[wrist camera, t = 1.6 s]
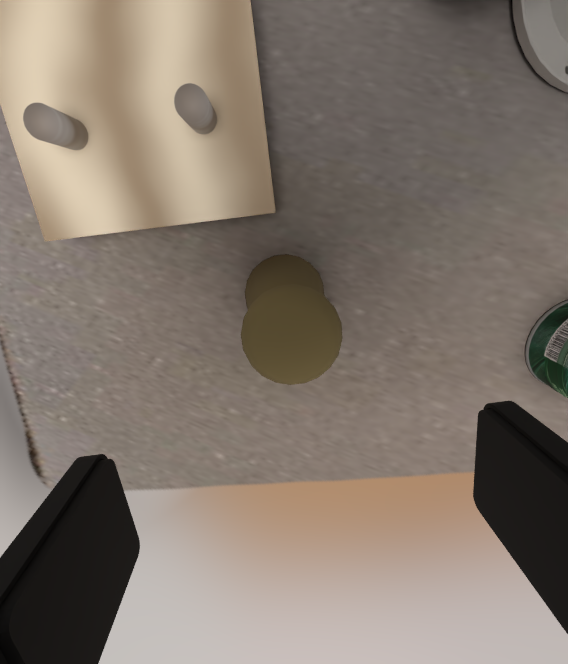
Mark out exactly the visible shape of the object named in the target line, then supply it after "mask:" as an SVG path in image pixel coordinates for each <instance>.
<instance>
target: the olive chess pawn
mask: <svg viewBox="0 0 568 664" xmlns="http://www.w3.org/2000/svg"><path fill="white" fill-rule="evenodd" d="M245 297H246V304H247V308H248V311H247V313H246V315H245V316H244V320H243V325H242V331H241V339H242V345H243V350H244V352H245V354H246V356H247V358H248V360H249V362H250V363H251V365H252V367H253V368H255V369H256V370H257V371H258V372H259V373H260V374H261V375H262V376H264V377H266V378H268V379H270V380H272V381H274V382H276V383H282V384H288V385H293V384H301V383H306V382H308V381H311V380H313V379H316V378H318V377H319V376H321V375H322V374H323V373H324V372H325V371H327V370H328V369H329V368H330V367H331V365H332V364H333V362H334V361H335V359H336V358H337V356H338V354H339V350H340V346H341V342H342V326H341V321H340V319H339V316H338V314H337V312H336V309H335V308H334V306H333V305H332V304H331V303H330V302H329V301H328V300H327V299H326V297H325V296H324V288H323V282H322V280H321V278H320V275H319V273H318V272H317V270H316V269H315V268H314V267H313V266H312V265H311V264H310V263H309V262H307V261H305V260H304V259H302V258H300V257H297V256H292V255H287V254H285V255H277V256H272V257H270V258H268V259H266V260H264V261H262V262H261V263H260V264H259V265H258V266H257V267H256V268H254V269H253V271H252V273H251V274H250V276H249V278H248V280H247V284H246V289H245Z"/></svg>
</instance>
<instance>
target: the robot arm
mask: <svg viewBox="0 0 568 664" xmlns="http://www.w3.org/2000/svg"><path fill="white" fill-rule="evenodd" d="M512 2H513V19H514V23H515V28H516V33H517V37H518V40H519V43H520V45H521V47H522V50H523V52H524V54H525V57H526V58H527V60H528V61H529V63H530V64H531V65H532V67H533V68H534V70H535V71H536V73H538V74H539V75H540V76H541V77H542V78H543V79H544V80H546V81H547V82H548V83H549V84H550V85H552V86H554V87H556V88H558V89H560V90H562V91H564V92H568V0H512ZM473 492H474V493H473V497H474V501H475V504H476V506H477V508H478V510H479V511H480V513H481V514H482V516H483V517H484V519H485V520H486V521H487V523H488V524H489V526H490V527H491V528H492V530H493V531H494V532H495V534H496V535H497V537H498V538H499V539H500V541H501V542H502V543H503V545H504V546H505V548H506V549H507V550H508V552H509V553H510V555H511V556H512V558H513V559H514V560H515V561H516V563H517V564H518V566H519V567H520V569H521V570H522V571H523V573H524V574H525V575H526V577H527V578H528V580H529V581H530V582H531V584H532V585H533V587H534V588H535V589H536V591H537V592H538V593H539V595H540V596H541V598H542V599H543V600H544V602H545V603H546V605H547V606H548V607H549V609H550V610H551V612H552V613H553V614H554V616H555V617H556V618H557V620H558V621H559V623H560V624H561V626H562V627H563V628H564V630H565V631H566V633H567V634H568V443H567V442H566V441H565V440H564V439H562V438H561V437H560V436H558V435H557V434H556V433H554V432H553V431H552V430H550V429H549V428H548V427H546V426H545V425H544V424H542V423H541V422H540V421H538V420H537V419H536V418H534V417H533V416H532V415H530V414H529V413H528V412H526V411H525V410H524V409H523V408H521V407H520V406H519V405H517V404H516V403H514V402H512V401H503V402H496V403H488V404H486V405H485V407H484V410H481V411H480V412H479V413H478V424H477V441H476V457H475V474H474V491H473ZM139 549H140V543H139V537H138V535H137V531H136V528H135V525H134V522H133V518H132V516H131V512H130V509H129V506H128V503H127V500H126V497H125V494H124V490H123V487H122V484H121V481H120V478H119V475H118V472H117V469H116V466H115V463H114V461H113V460H112V459H108V458H107V457H106V456H105V455H103V454H99V455H91V456H84V457H79V458H77V459H76V460H75V461H74V463H73V464H72V465H71V467H70V468H69V469H68V470H67V472H66V473H65V474H64V476H63V477H62V478H61V480H60V481H59V482H58V483H57V485H56V486H55V487H54V489H53V490H52V491H51V493H50V494H49V495H48V496H47V498H46V499H45V501H44V502H43V503H42V504H41V506H40V507H39V508H38V510H37V511H36V512H35V513H34V515H33V516H32V517H31V519H30V520H29V521H28V522H27V524H26V525H25V526H24V528H23V529H22V530H21V532H20V533H19V534H18V535H17V537H16V538H15V539H14V541H13V542H12V543H11V545H10V546H9V547H8V549H7V550H6V551H5V552H4V554H3V555H2V556H1V558H0V664H98V663H99V660H100V657H101V655H102V652H103V649H104V646H105V644H106V641H107V638H108V636H109V633H110V630H111V628H112V625H113V622H114V620H115V617H116V614H117V611H118V609H119V606H120V603H121V601H122V598H123V595H124V593H125V590H126V587H127V585H128V582H129V579H130V576H131V574H132V571H133V568H134V565H135V563H136V560H137V558H138V554H139Z"/></svg>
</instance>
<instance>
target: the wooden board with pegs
mask: <svg viewBox="0 0 568 664" xmlns="http://www.w3.org/2000/svg"><path fill="white" fill-rule="evenodd" d="M0 105H1V108H2V111H3V114H4V117H5V120H6V123H7V126H8V129H9V132H10V135H11V138H12V141H13V145H14V148H15V151H16V154H17V157H18V160H19V163H20V166H21V169H22V172H23V175H24V178H25V181H26V184H27V187H28V190H29V194H30V197H31V200H32V203H33V206H34V209H35V212H36V215H37V218H38V221H39V224H40V227H41V230H42V233H43V236H44V239H45V241H53V240H61V239H69V238H77V237H85V236H93V235H101V234H109V233H117V232H125V231H133V230H141V229H149V228H157V227H165V226H173V225H181V224H189V223H197V222H205V221H213V220H221V219H229V218H237V217H245V216H253V215H261V214H269V213H276V211H275V203H274V194H273V186H272V178H271V169H270V161H269V152H268V144H267V136H266V127H265V119H264V110H263V102H262V93H261V85H260V77H259V68H258V60H257V51H256V43H255V35H254V26H253V18H252V9H251V1H250V0H0Z"/></svg>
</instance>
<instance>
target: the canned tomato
mask: <svg viewBox="0 0 568 664" xmlns="http://www.w3.org/2000/svg"><path fill="white" fill-rule="evenodd" d="M525 357H526V363H527V366H528V368H529V370H530V372H531V373H532V374H533V375H534V377H535V378H537V379H538V380H539V381H541V382H542V383H545V384H547V385H548V386H550V387H551V388H553V389H554V390H556V391H557V392H559V393H561V394H562V395H563V396H565V397H567V398H568V300H566V301H564V302H562V303H560V304H558V305H556V306H554V307H553V308H552V309H550V310H549V311H548V312H546V313H545V314H544V315H543V316H542V317H541V318H540V319H539V321H538V322H537V323H536V325H535V326H534V328H533V329H532V331H531V333H530V335H529V337H528V340H527V344H526V352H525Z"/></svg>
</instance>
